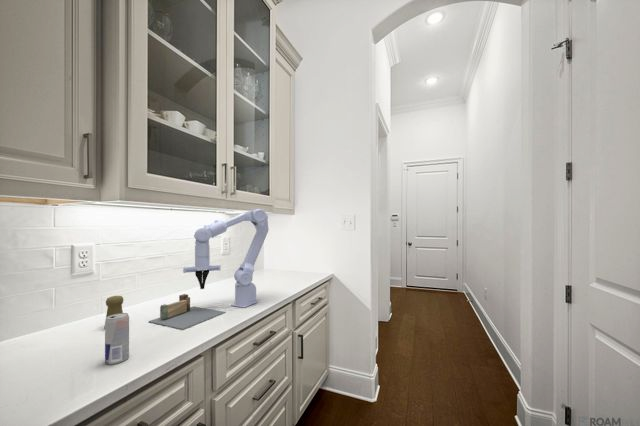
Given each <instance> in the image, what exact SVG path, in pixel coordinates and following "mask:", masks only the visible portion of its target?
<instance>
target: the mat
mask: <svg viewBox="0 0 640 426" xmlns="http://www.w3.org/2000/svg"><path fill="white" fill-rule="evenodd" d="M223 314H226V311H222V310H216V309H211V308H205V307H198V306H190V311H186V312H183V313H180V314H177V315H174V316H172V317H169V318H166V319H160V317H158V318H153V319H151V320H148V323H150V324H155V325H159V326H163V327H167V328H172V329H176V330H181V331H184V330H187V329H189V328H191V327H194V326H196V325H199V324H202V323H204V322H206V321H208V320H211V319H214V318H216V317H218V316H221V315H223Z"/></svg>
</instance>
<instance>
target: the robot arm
mask: <svg viewBox="0 0 640 426" xmlns="http://www.w3.org/2000/svg"><path fill="white" fill-rule="evenodd" d="M268 220H269V216H268V214H267V212H266V211H265V210H264V209H263V208H257V209H251V210H247V211H244V212H241V213H240V214H237V215H235V216H233V217H231V218H229V219H227V220H222V219H219V220H218V219H216V220H214V222H212V223H210V224H207V225H206V224H205V225H204V226H203V227H202V228H201V227H200V228H197V229H196V230H195V232H194V235H193V237H194V239H195V241H194V244H195V246H194V266H190V267H189V266H188V267H183V268H182V269H183V270H182V272H183V274H185V273H195V274H194V275H195V277H196V278H197V281H198V284H199V288H200V290H205V285H206V280H207V279H208V278H207V277H208V276H209V273H210V271H211V272H214V271H217V272H218V271H221V265H211V264H210V263H211V262H210V261H211V260H210V255H211V253H210V239H211V238H212V239H213V238H214V237H217V236H219V235H221V234H224V233H226V232H227V230H228V228H229V227H232V226H236V225H238V224H240V223H243V222H250V223H251V224H253V226H254V229H255V234H254V236H253V238H252V240H251V243H250V246H249V248H248V250H247V253H246V255H245V257H244V260H243V262H242V263H241V264H240V266H239V267H238V269H237V270H235V272H234V275H233V277H234V280H235V283H234V303H231V304H230V306H231V307H237V308H247V307H249V306H251V305H254V304H257V303H258V302H259V301H258V300H257V286H256V284H254V283H253V282H252V281H253V276H254V275H253V274H254V269H255V264H256V262H257V259H258V257H259V254H260V252H261V250H262V248H263V245H264V242H265V239H266V238H267V236H268V233H269V231H270V230H269V221H268Z"/></svg>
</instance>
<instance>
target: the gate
mask: <svg viewBox="0 0 640 426" xmlns="http://www.w3.org/2000/svg"><path fill="white" fill-rule="evenodd" d="M160 307H161V319H166V318H169V317H172V316H174V315H177V314H180V313H183V312H186V311H190V307H191V297H189V296H188V297H187V298H185V300H182V301H179V300H178V301H176V302H173V303H169V304H165V303H164V304H161V305H160Z"/></svg>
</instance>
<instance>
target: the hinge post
mask: <svg viewBox="0 0 640 426" xmlns="http://www.w3.org/2000/svg"><path fill="white" fill-rule="evenodd" d="M187 297H189V294H187V293H184V294H180V295H179V297H178V298H179V299H178V301H182V300H185V298H187Z"/></svg>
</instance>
